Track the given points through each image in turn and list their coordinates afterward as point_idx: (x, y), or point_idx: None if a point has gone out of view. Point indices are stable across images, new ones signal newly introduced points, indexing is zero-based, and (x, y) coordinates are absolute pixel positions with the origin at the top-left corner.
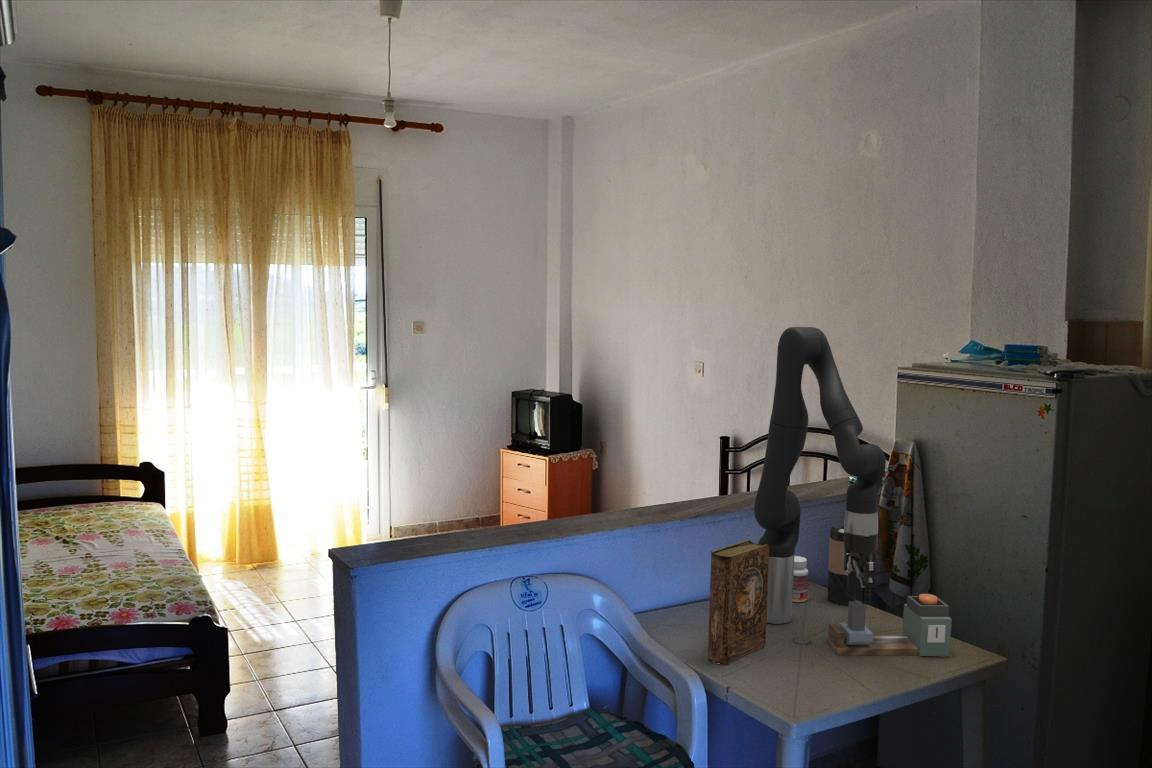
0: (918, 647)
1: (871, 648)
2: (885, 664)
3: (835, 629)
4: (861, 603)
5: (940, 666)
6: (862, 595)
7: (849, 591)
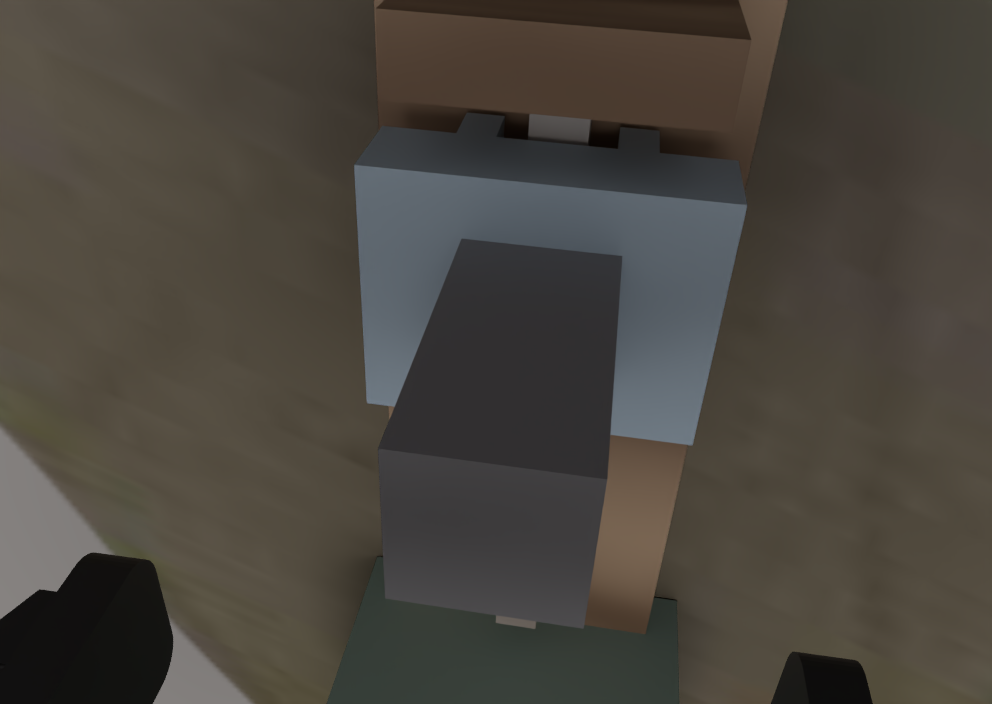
0: (393, 603)
1: None
2: (224, 294)
3: (513, 40)
4: (482, 591)
5: (234, 579)
6: (2, 687)
7: (794, 659)
